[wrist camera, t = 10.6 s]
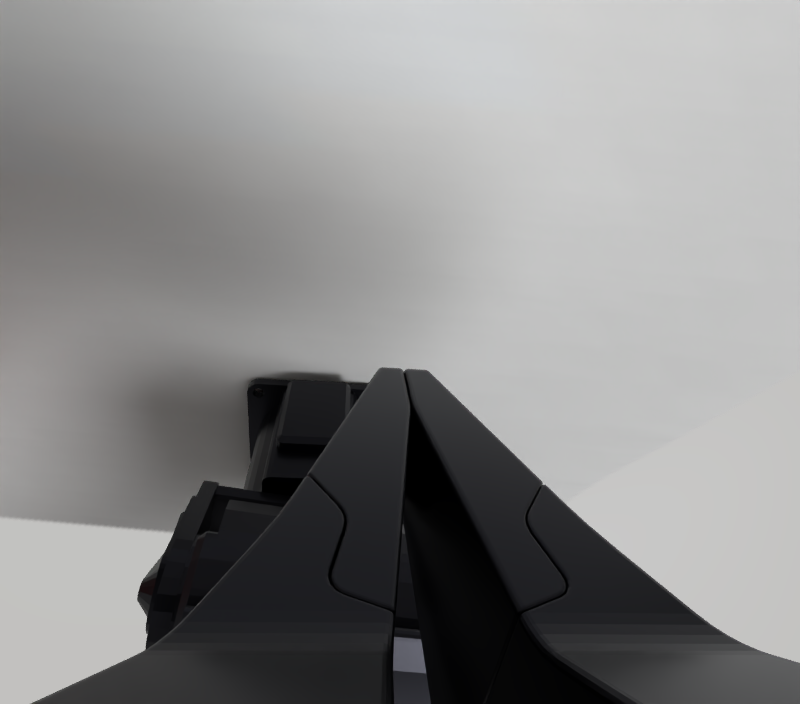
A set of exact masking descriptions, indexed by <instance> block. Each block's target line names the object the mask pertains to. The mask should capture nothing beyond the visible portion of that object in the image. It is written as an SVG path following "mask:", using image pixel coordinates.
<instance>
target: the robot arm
mask: <svg viewBox="0 0 800 704" xmlns="http://www.w3.org/2000/svg"><path fill="white" fill-rule="evenodd" d="M257 388H259V389H262V390H263V391H264V392H257V391H256V390H255V389H257ZM247 396H248V416H249V437H250V457H251V463H250V466H249V470H248V474H247V478H246V482H245V486H244V489H239V488H232V487H225V486H219V483H217V482H211V481H204V482H203V484H202V486H201V488H200V490H199V492H198V494H197V496H192V498H191V500H190V502H189V504H188V506H187V508H186V510H185V512H183V513H181V515H180V518H179V520H178V523H177V526H176V528H175V531H174V534H173V536H172V538H171V541H170V542H169V544H168V546H167V549H166V550H165V553H164V554H163V555H162V556H161V558H160V559H159V560H158V562H157V563H156V564H155V565H154V567H153V568H152V569H151V570H150V571H149V573H148V574H147V575H146V577H145V578H144V579H143V581H142V583H141V586H140V589H139V592H138V598H137V600H138V602H139V603H140V605H141V607H142V609H143V610H144V612H145V614H146V615H147V623H146V633H147V634H148V636H147V641H146V650H145V651H143V652H141V653H139V654H137V655H135V656H133V657H131V658H129V659H127V660H125V661H122V662H120V663H118V664H116V665H114V666H111V667H110V668H107V669H105V670H103V671H101V672H99V673H96V674H94V675H92V676H90V677H88V678H86V679H83V680H81V681H79V682H77V683H75V684H72V685H70V686H68V687H66V688H64V689H62V690H59V691H57V692H55V693H53V694H51V695H49V696H46V697H44V698H42V699H40V700H38V701H35V702H33V703H32V704H800V663H798V662H794V661H791V660H788V659H784V658H781V657H777V656H774V655H771V654H768V653H765V652H762V651H759V650H757V649H754V648H752V647H750V646H748V645H745V644H743V643H741V642H739V641H737V640H735V639H733V638H731V637H730V636H728V635H726V634H725V633H723V632H722V631H720V630H718V629H717V628H715V627H714V626H712V625H710V624H709V623H708V622H707V621H705V620H704V619H703V618H702V617H700V616H699V615H698V614H696V613H695V612H694V611H692V610H691V609H690V608H689V607H687V606H686V605H685V604H684V603H683V602H681V601H680V600H679V599H678V598H677V597H675V596H674V595H673V594H672V593H670V592H669V591H668V590H667V589H665V588H664V587H663V586H662V585H660V584H659V583H658V582H656V581H655V580H654V579H653V578H652V577H651V576H649V575H648V574H647V573H646V572H644V571H643V570H642V569H641V568H640V567H638V566H637V565H636V564H635V563H633V562H632V561H631V560H630V559H628V558H627V557H626V556H625V555H624V554H622V553H621V552H620V551H619V550H617V549H616V548H615V547H614V546H613V545H611V544H610V543H609V542H608V541H607V540H606V539H604V538H603V537H602V536H601V535H600V534H598V533H597V532H596V531H595V530H594V529H593V528H591V527H590V526H589V525H588V524H587V523H586V522H584V521H583V520H582V519H581V518H580V517H579V516H578V515H577V514H576V513H575V512H574V511H573V510H571V509H570V508H569V507H568V506H567V505H566V504H565V503H564V502H563V501H562V500H561V499H560V498H559V497H558V496H557V495H556V494H555V493H554V492H553V491H551V490H550V489H549V488H548V487H547V486H546V485H542V484H543V483H542V481H541V480H540V479H539V478H538V477H537V476H536V475H535V474H534V473H533V472H532V471H531V470H530V469H529V468H528V467H527V466H526V465H524V464H523V463H522V462H521V461H520V460H519V459H518V458H517V457H516V456H515V455H514V454H513V453H512V452H511V451H510V450H509V449H508V448H507V447H506V446H505V445H504V444H503V443H502V442H501V441H500V440H499V439H498V438H497V437H496V436H495V435H494V434H493V433H492V432H491V431H490V430H488V429H487V428H486V427H485V426H484V425H483V424H482V423H481V422H480V421H479V420H478V419H477V418H476V417H475V416H474V415H473V414H472V413H471V412H470V411H469V410H468V409H467V408H466V407H465V406H464V405H463V404H462V403H461V402H460V401H459V400H458V399H457V398H456V397H455V396H454V395H452V394H451V393H450V392H449V391H448V390H447V389H446V388H445V387H444V386H443V385H442V384H441V383H440V382H439V381H438V380H437V379H436V378H435V377H434V376H433V375H432V374H431V373H430V372H429V371H427V370H417V369H406V370H405V371H404V372H403V370H402V369H399V368H380V369H378V371H377V372H376V374H375V375H374V377H373V378H372V379H371V381H370V382H369V384H368V385H361V384H346V383H343V382H325V381H307V380H293V381H287V380H269V379H255V380H253V381H252V382H251V383H250V384H249V387H248V391H247Z"/></svg>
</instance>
